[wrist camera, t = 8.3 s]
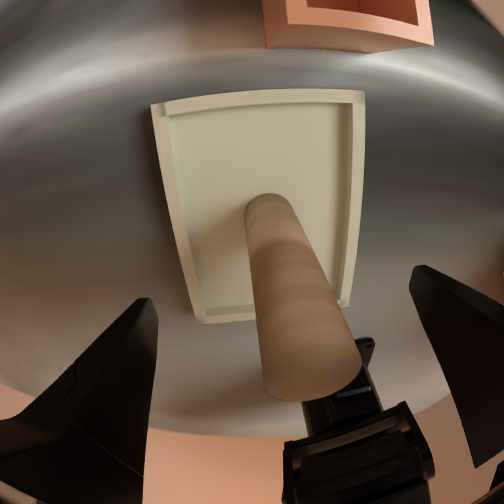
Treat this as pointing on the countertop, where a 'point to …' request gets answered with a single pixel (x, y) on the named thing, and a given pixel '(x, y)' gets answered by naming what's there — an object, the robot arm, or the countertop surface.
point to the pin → (295, 307)
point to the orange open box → (347, 24)
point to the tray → (260, 184)
